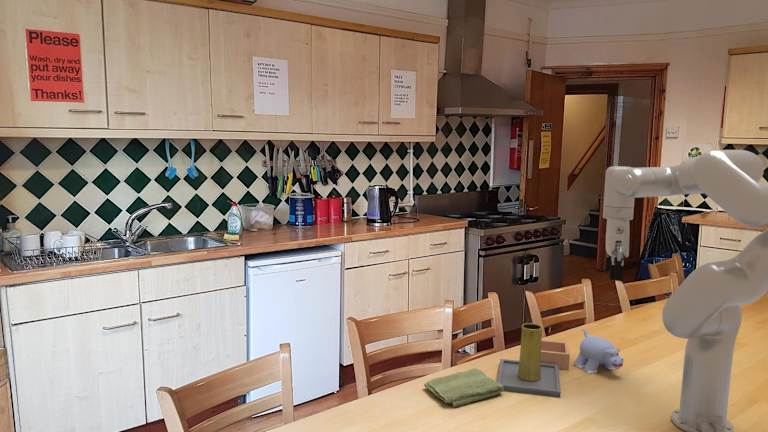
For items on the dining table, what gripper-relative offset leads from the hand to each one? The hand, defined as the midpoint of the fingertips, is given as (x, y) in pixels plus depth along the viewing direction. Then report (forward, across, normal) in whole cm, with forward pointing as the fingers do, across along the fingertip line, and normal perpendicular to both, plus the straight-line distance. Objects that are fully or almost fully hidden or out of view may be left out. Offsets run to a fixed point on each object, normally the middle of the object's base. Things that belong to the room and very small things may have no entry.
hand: (613, 275), depth 159 cm
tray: (+28, -9, +21) cm, 36 cm away
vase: (+28, -9, +21) cm, 36 cm away
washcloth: (+28, -22, +37) cm, 51 cm away
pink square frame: (+28, +6, +15) cm, 33 cm away
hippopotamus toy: (+29, +4, +2) cm, 29 cm away
